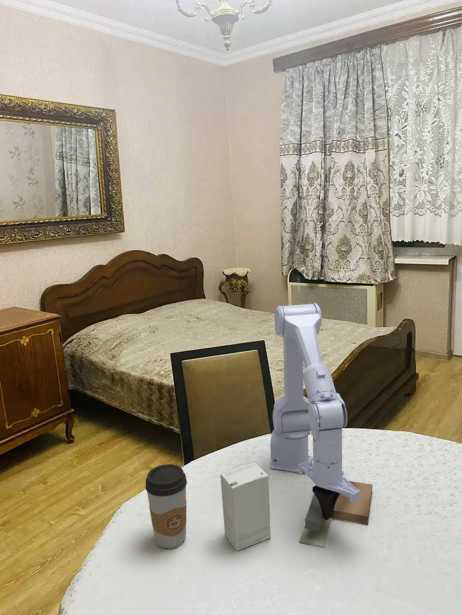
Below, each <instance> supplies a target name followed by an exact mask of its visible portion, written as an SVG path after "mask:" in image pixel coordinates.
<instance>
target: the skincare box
mask: <svg viewBox="0 0 462 615" xmlns="http://www.w3.org/2000/svg"><path fill="white" fill-rule="evenodd" d="M219 477H220V490H221V501H222V513H223V527H224V535H225V537H226V538H227V540H228V541H229V540H230V541H229V542H230V544H231V543H232V544H231V545H232V547H233V546H234V547H235V548H234V547H233V548H234V549H235V551H236V550H239V551H241V550H243V548H244V549H246V548H249V547H250V545H251V546H252V545H255V544H258V543H260V542H263V541H265V540H268V539H271V538H272V536H271V535H272V534H271V532H272V531H271V530H272V529H271V512H270V511H271V510H270V486H269V475H268V474H267V473H266V472H265V471H264V470H263V469H262V468H261V467H260V466H259V465H258V464H257V463H256V462H255V461H254V462H251V463H248V464H247V463H246V464H245V465H242V466H239V467H237V468H233V469H231V470H226V471H225V472H222V473H220V474H219ZM248 546H249V547H248ZM245 547H246V548H245ZM240 549H241V550H240Z"/></svg>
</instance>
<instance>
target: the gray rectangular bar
mask: <svg viewBox="0 0 462 615" xmlns="http://www.w3.org/2000/svg"><path fill="white" fill-rule="evenodd" d="M322 522H323V516H322V510H321V507H320V504H319V501H318V499H317V497H316V496H315V494H314V493H313V495H312V499H311V502H310V504H309V507H308V510H307V513H306V516H305V519H304V525H305V529H310V530H315V531H320V529H321V526H322Z"/></svg>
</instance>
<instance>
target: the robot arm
mask: <svg viewBox="0 0 462 615" xmlns="http://www.w3.org/2000/svg"><path fill="white" fill-rule="evenodd" d="M321 310H322V309H321V307H320V306H319V305H318V303H316V302H313V303H307V304H306V303H304V304H293V305H278V306H276V308H275V311H274V332H275V335H276V336H281V337H282V342H283V377H284V378H283V384H284V385H283V386H284V393H283V396H281V397H280V398H278V399H277V400H276V401H274V404H273V411H272V423H273V428H274V429H273V430H272V432H271V435H270V442H269V444H270V448H269V449H270V466H269V468H270V469H272V470H277V471H278V470H279V471H284V472H285V471H286V472H291V473H292V472H293V473H297V474H298V473H299V474H300V475H306V476H307V477H308V478H309V479H310V480H311V481H312V483H313V484H314V486H312V489H311V490H312V491H311V492H312V493H313V495H314V494H315V496H316V497H317V499H318V501H319V504H320V507H321V510H322V516H323V519H325V520H328V519H329V518H331V517H333V514H334V507H335V504H336V501H337V499H338V497H339V496H340V494H342V495H344V496H346V497H348V498H350V502H352V503H355V502H356V501H358V500H359V499H360V490H358V489H357V488H355V487H354V486H353V485H352V484H351V483H350V482H349V481H350V480H348V479H347V478H346V477H345V476H344V471H343V428H346V427H347V425H348V413H347V411H348V410H347V408H346V404H345V401H344V400H343V398H341V394H340V393H338V392H337V391H336V387H335V385H334V380H333V377H332V373H331V370H330V369H329V368H328V367H327V365H324V364H323V359H322V356H321V355H322V354H321V349H320V343H319V339H318V335H319V333H320V331H321V327H322V323H323V315H322V311H321ZM304 368H305V370H304ZM304 387H305V391H306V395H307V396H304ZM310 435H311V437H312V456H311V455H309V436H310Z"/></svg>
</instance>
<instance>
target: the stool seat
mask: <svg viewBox="0 0 462 615" xmlns="http://www.w3.org/2000/svg"><path fill="white" fill-rule="evenodd" d="M348 481H349V482H350V483H351V484H352V485H353V486H354V487H355V488H357V489H358V490H360V499H359V500H358V501H356V502H355V503H352V502H350V498H348V497H346V496H344V495H342V494H340V496H339V497H338V499H337V501H336V504H335V507H334V514H333V517H331V518H329V519H328V520H325V519H323V522H322V526H321V529H320V531H315V530H310V529H305V524H304V527H303V528H302V531H301V535H300V538H299V541H298V543H299V544H304V545H309V546H313V547H318V548H323V549H325V545H326V542H327V537H328V535H329V531H330V527H331V522H332V519H333V520H341V521H345V522H351V523H356V524H361V525H368V524H369V517H370V510H371V505H372V504H371V503H372V498H373V483H372V484H371V483H365V482H359V481H352V480H348Z"/></svg>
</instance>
